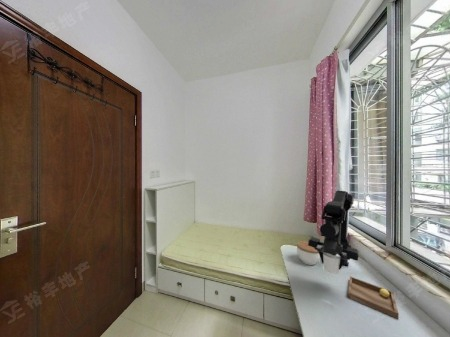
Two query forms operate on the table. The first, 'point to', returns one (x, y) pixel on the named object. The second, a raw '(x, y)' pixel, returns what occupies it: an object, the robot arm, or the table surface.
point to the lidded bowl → (307, 253)
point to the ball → (384, 292)
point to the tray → (372, 297)
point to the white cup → (331, 262)
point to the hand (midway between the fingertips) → (331, 266)
